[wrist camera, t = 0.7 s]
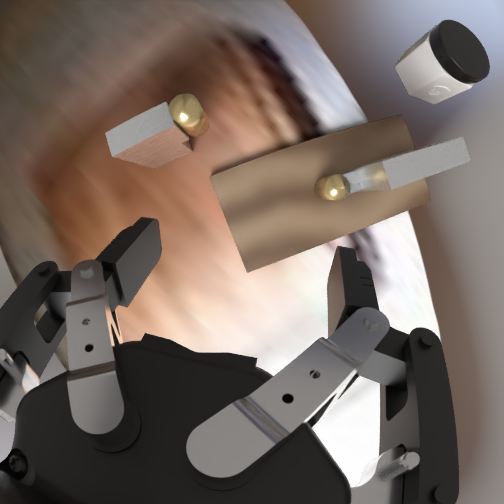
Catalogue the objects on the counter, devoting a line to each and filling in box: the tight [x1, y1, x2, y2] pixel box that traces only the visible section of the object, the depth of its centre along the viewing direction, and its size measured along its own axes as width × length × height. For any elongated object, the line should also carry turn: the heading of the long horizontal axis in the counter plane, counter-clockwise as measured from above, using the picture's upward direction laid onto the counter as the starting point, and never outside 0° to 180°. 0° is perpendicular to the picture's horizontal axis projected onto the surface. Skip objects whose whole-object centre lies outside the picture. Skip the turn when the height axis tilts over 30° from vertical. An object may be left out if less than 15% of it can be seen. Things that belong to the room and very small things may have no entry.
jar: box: [395, 20, 490, 104], centre depth 25 cm, size 9×8×12 cm
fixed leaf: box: [314, 137, 470, 200], centre depth 27 cm, size 3×14×12 cm, turn 111°
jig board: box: [210, 114, 431, 273], centre depth 34 cm, size 12×26×1 cm, turn 111°
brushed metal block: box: [105, 93, 209, 169], centre depth 28 cm, size 8×3×12 cm, turn 111°
